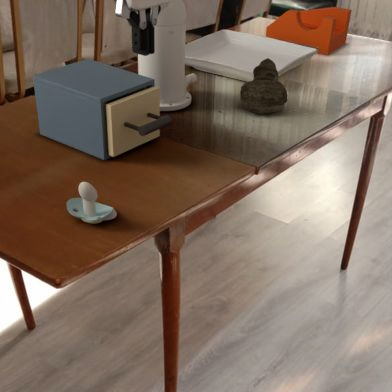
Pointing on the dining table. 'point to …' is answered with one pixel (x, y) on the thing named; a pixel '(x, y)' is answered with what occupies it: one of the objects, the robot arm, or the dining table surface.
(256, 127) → the dining table surface
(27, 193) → the dining table surface
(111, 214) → the pacifier
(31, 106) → the dining table surface
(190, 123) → the dining table surface
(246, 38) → the square plate
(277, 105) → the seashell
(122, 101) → the drawer
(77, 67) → the cabinet
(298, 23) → the tape dispenser
